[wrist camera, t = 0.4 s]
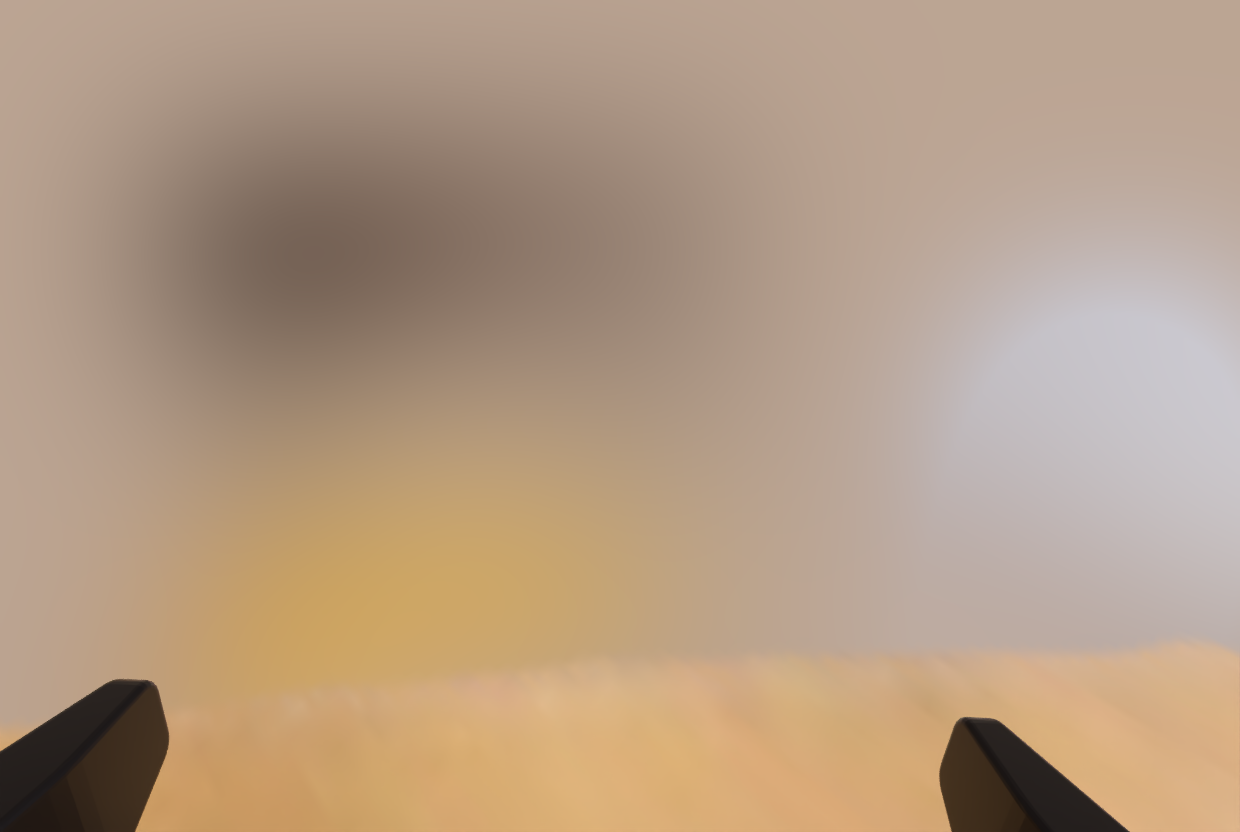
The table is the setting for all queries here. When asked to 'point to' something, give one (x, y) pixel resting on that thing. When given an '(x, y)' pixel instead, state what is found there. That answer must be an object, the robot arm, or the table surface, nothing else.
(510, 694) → the table surface
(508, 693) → the table surface
